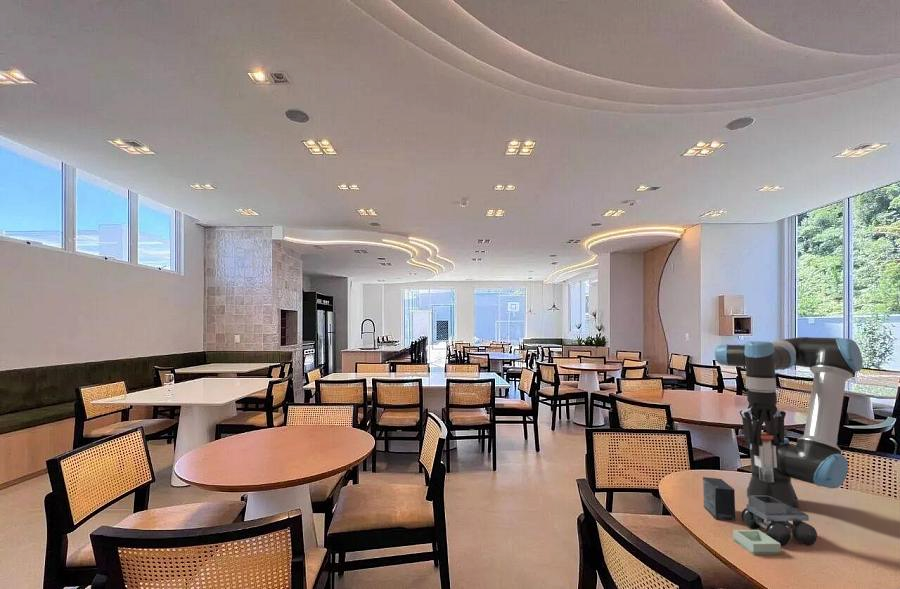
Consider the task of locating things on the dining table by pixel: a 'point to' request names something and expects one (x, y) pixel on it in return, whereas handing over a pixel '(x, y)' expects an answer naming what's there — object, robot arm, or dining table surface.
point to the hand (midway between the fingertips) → (765, 465)
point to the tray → (757, 542)
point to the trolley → (778, 520)
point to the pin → (766, 458)
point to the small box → (719, 499)
